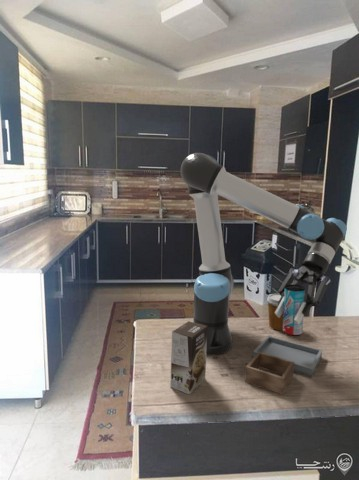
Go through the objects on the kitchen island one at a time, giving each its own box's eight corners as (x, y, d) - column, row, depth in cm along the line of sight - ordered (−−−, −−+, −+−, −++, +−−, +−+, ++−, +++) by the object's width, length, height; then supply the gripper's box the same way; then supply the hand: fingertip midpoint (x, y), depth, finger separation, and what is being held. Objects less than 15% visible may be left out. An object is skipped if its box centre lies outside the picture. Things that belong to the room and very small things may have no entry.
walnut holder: (244, 381, 99) (245, 366, 98) (258, 365, 108) (259, 351, 107) (282, 394, 93) (283, 379, 92) (293, 376, 102) (294, 361, 101)
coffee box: (190, 395, 92) (192, 337, 89) (169, 387, 95) (170, 331, 92) (206, 379, 99) (208, 325, 97) (186, 372, 103) (188, 320, 100)
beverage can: (285, 328, 115) (287, 283, 112) (304, 331, 112) (306, 286, 109) (280, 334, 109) (282, 288, 107) (300, 339, 106) (302, 291, 104)
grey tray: (252, 358, 111) (253, 351, 111) (267, 342, 123) (267, 335, 122) (312, 377, 102) (312, 369, 101) (321, 357, 113) (322, 350, 113)
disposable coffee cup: (291, 333, 130) (294, 302, 128) (265, 330, 132) (267, 300, 130) (289, 323, 140) (291, 294, 137) (264, 320, 141) (266, 292, 139)
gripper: (350, 272, 110) (319, 335, 102) (296, 260, 124) (265, 315, 117) (344, 257, 106) (311, 322, 98) (288, 247, 120) (256, 303, 112)
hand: (286, 318), depth 107 cm, fingers closed on beverage can, 6 cm apart
